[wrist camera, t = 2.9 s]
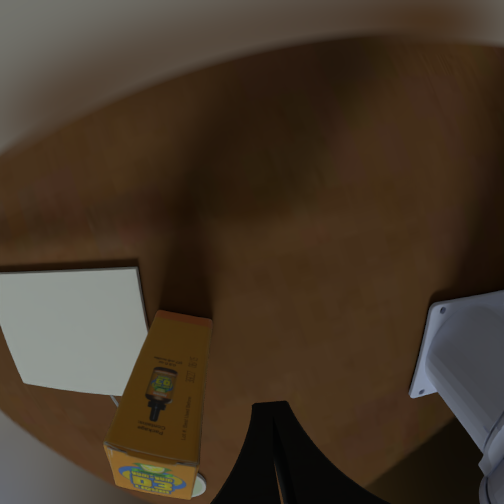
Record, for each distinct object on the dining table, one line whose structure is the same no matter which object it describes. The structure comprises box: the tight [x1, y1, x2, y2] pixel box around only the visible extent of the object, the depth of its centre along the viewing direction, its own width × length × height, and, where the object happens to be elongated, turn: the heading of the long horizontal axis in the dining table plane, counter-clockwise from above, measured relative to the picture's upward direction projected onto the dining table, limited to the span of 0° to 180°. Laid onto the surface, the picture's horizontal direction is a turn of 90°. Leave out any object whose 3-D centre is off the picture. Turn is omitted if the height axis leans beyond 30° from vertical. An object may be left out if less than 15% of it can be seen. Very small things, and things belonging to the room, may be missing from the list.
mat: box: [0, 267, 149, 396], centre depth 18 cm, size 12×9×1 cm
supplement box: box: [103, 310, 213, 500], centre depth 13 cm, size 3×3×10 cm
